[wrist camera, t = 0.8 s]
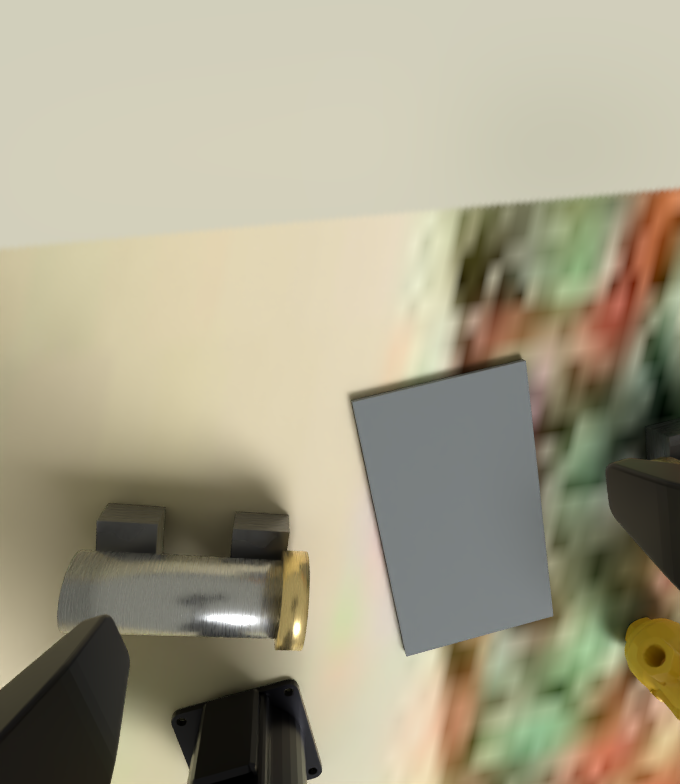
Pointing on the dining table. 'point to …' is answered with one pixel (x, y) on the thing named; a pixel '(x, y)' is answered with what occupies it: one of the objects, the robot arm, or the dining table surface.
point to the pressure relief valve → (656, 658)
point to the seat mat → (458, 504)
